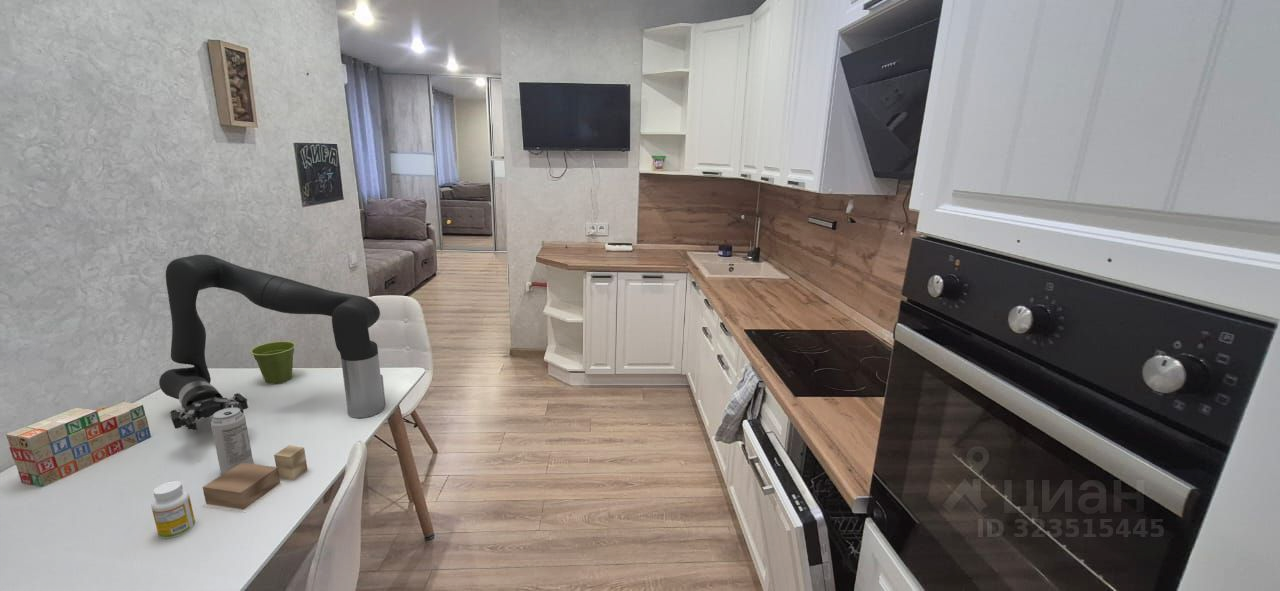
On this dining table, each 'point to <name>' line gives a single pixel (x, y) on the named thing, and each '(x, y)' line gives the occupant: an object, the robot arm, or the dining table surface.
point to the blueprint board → (249, 505)
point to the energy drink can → (231, 438)
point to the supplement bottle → (172, 510)
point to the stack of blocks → (75, 441)
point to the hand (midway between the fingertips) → (217, 420)
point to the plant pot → (275, 360)
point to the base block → (241, 485)
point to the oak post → (291, 462)
